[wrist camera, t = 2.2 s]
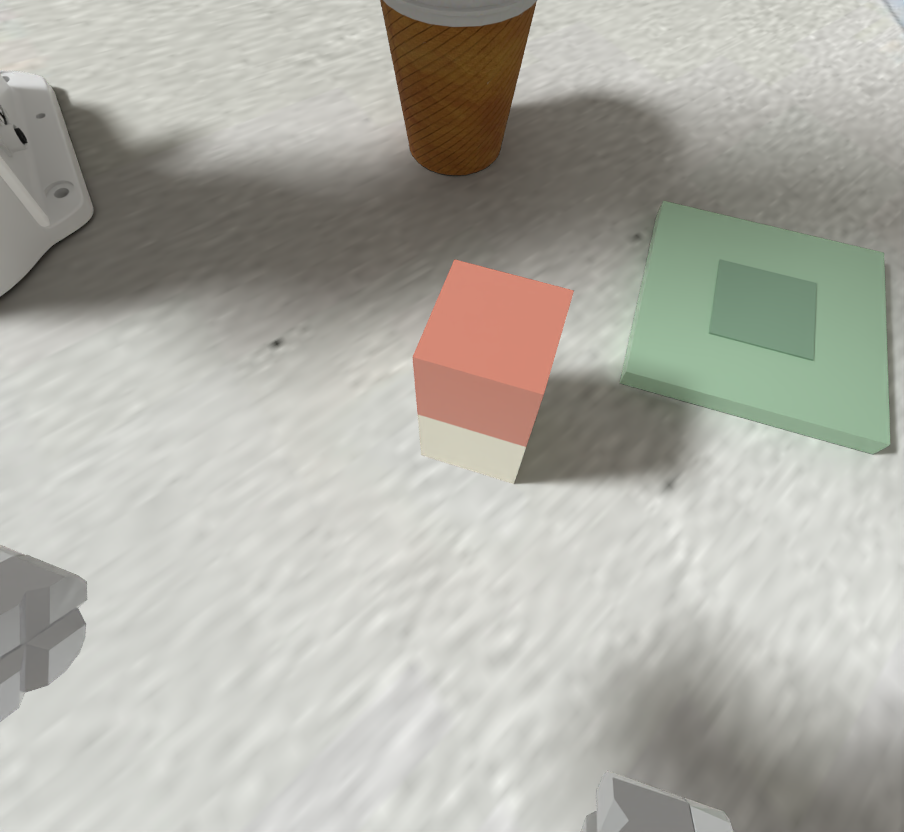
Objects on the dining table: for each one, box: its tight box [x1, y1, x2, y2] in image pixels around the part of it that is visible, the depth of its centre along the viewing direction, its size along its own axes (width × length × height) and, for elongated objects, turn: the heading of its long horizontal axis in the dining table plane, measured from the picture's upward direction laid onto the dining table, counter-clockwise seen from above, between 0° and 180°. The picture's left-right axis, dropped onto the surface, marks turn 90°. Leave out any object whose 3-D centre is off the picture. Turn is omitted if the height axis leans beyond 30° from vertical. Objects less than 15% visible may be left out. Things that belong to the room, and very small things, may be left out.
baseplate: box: [620, 201, 890, 454], centre depth 31 cm, size 13×13×1 cm
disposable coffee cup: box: [380, 0, 537, 175], centre depth 33 cm, size 10×10×12 cm
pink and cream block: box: [413, 259, 574, 484], centre depth 25 cm, size 5×5×9 cm
